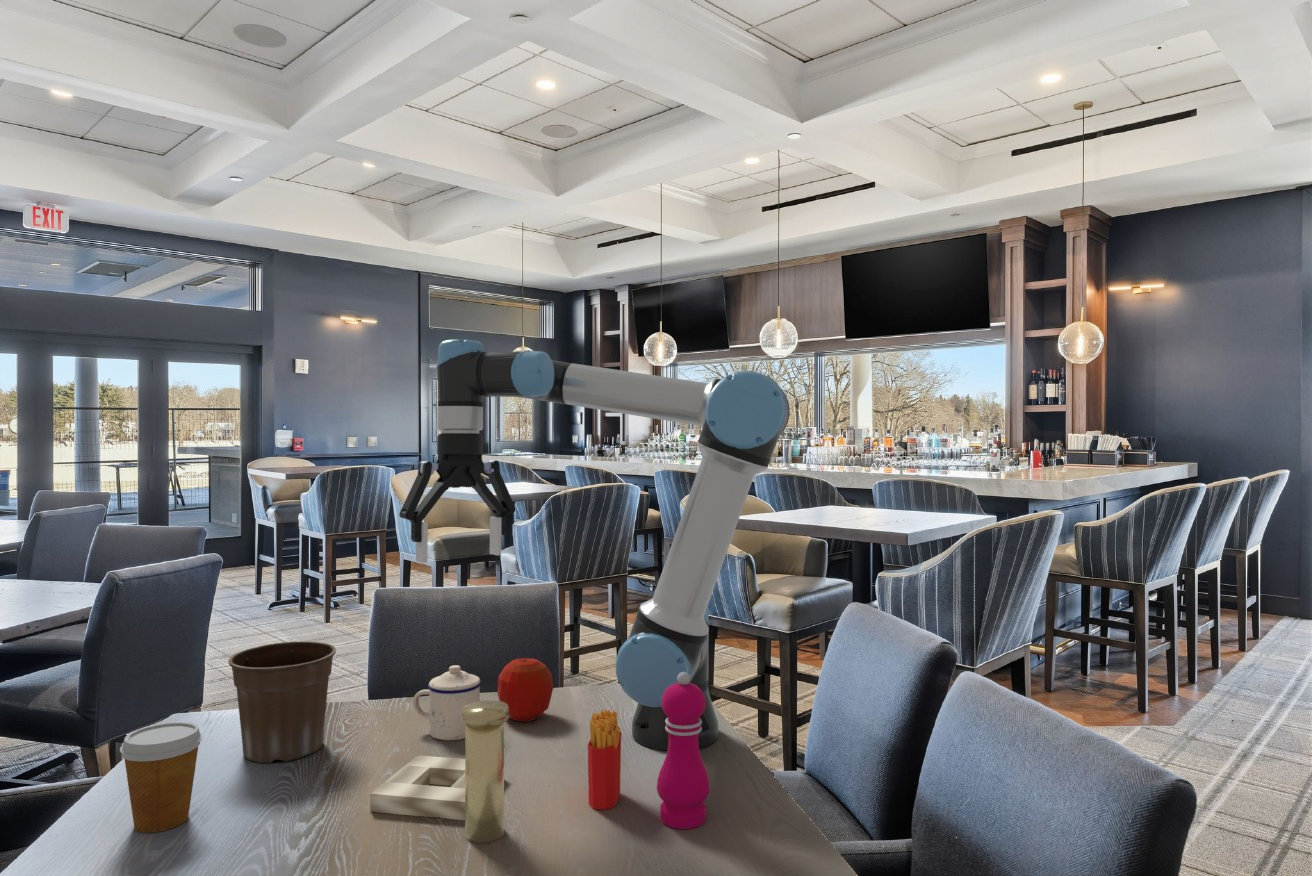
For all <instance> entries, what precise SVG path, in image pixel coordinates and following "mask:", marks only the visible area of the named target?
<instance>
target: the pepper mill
mask: <svg viewBox="0 0 1312 876" xmlns="http://www.w3.org/2000/svg"><path fill="white" fill-rule="evenodd" d="M677 680H678V683H675V684H673V685H671V686H669V687H668V688H667V689H666V690H665V692H664V694H663V697H662V709H663V711H664V713H665V714H666V715H667V718H666V720H665V723H666V726H665V730H666V731H667V732H668V736H669V743H668V750H666V751H667V752H666V756H665V758H664V761H663V763H662V766H661V768H660V770H659V773H658V777H657V782H656V792H657V794H658V796H659V798H660V799H661V800H662V802H661V804H660V807H659V808H660V810H659V811H660V815H659V816H660V818H659V819H660V821H661V822H662V823H663V824H664V825H665V826H667V827H670V828H674V829H679V830H680V829H681V830H690V829H695V828H698V827H700V826H702V825H703V824H704V823H705V822H706V819H707V805H706V804H705V801H706V799H707V798H708V796H709V795H710V791H711V788H710V787H711V785H710V779H709V774H708V771H707V768H706V766H705V764H704V761H703V758H702V756H701V751H700V748H699V744H698V736H699V732H701V730H702V727H701V724H702V720H701V719H700V718H699V717H700V716H701V715H702V714H703V712H704V710H705V705H706V702H705V696H704V694H703V692H702V690H701V689H700V688H699V687H698V686H696V685H694V684H691V683H689V682H690V676H689V674H688V673H686V672H681V673H680V674H679V675H678V677H677Z"/></svg>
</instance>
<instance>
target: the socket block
mask: <svg viewBox="0 0 1312 876" xmlns="http://www.w3.org/2000/svg"><path fill="white" fill-rule="evenodd" d="M369 796H370V799H369V801H370V803H369V806H370V810H369V811H370V812H371V813H379V814H383V813H384V814H391V815H392V814H393V815H401V816H402V815H403V816H413V817H414V816H415V817H423V816H424V817H427V818H434V817H440V818H439V819H445V818H446V819H448V820H455V821H456V820H458V821H465V758H454V757H444V756H429V755H416V756H415V757H414V758H412V759H411V760H410V761H409V762H408V763H406V764H405V765H404V766H402V767H401V768H400V769H399V770H398V771H396V772H395V773H394V774H392V776H390V777H389V778H388V779H387V780H386V781H384V782H383V783H382V784H380V785H379V786H377V788H375V789H374V790H373V791H372V792H370V795H369ZM424 817H423V818H424Z"/></svg>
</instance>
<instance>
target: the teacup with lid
mask: <svg viewBox="0 0 1312 876" xmlns="http://www.w3.org/2000/svg"><path fill="white" fill-rule="evenodd" d="M481 686H482V681H481V679H480V677H479V676H477V675H475V674H472V673H468V672H466V671H464V670H462V669H461V666H460V665H457V664H456V665H455V664H454V665H450V666H449V668H448V671H446V672H444V673H442V674H441V675H439V676H436V677H433V678H431V680H430V681H429V683H428V685H427V689H421V690H420V691H418V692H416V694H415V695H414V697H413V700H412V703H413V709H414V711H415V713H416V714H417V715H418V716H419V717H421V718H422V719H423V718H424V719H426V720H429V721H428V723H429V724H428V726H429V729H428V730H429V731H428V734H429V735H430V736H431V738H434V739H436V740H440V741H458V740H465V724H463V723H462V721H461V716H462V707H463V706H465V705H466V704H469V703H472V702H477V701H481V698H480V697H481V696H480V695H481V693H480V692H481V691H480V690H481V689H480V687H481ZM423 695H425V696H428V695H429V704H428V705H429V709H428V710H429V712H425V711H424V710H422V708H421V707H420V703H419V698H420V696H423Z"/></svg>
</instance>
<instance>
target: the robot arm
mask: <svg viewBox="0 0 1312 876" xmlns="http://www.w3.org/2000/svg"><path fill="white" fill-rule="evenodd" d="M436 371H437V408H436V409H437V422H436V423H437V425H436V426H437V427H436V428H437V430H438V431H440V433H438V435H437V436H436V438H437V439H436V440H437V443H436V447H437V448H436V453H437V460H436V462H431V461H426V460H422V461H420V462H418V468H417V469H418V471H417V475H416V477H415V479H414V481H413V484H412V486H411V488H410V490H409V492H408V494H407V496H406V498H405V500H404V503H403V505H402V507H401V509H400V511H399V513H398V516H399V518H401V519H405V520H408V521H409V522H410V540H411V542H413V543H415V562H418V563H421V564H427V563H428V539H429V538H428V531H429V530H428V527H429V526H428V521H427V522H426V521H424V520H425V518H426V517H427V516H428V514H429V513H430V512H431V510H432V509H433V508H434V507H435V505H436V504H437V503H438V501H439V500H440V498H441V497H442V496H443V495H444V493H445V492H446V491H448V490H449V489H451V488H453V489H458V488H472V489H473V490H474V491H475V492H476V494H478V496H479V497H480V498H481V500H482V501H483V502H484V504H485V505H486V506H487V507H488V509H489V510H490V511H491V512H492V514H493V515H494V516H489V554H490V555H492V556H493V555H494V556H502V536H505V533H506V518H507V517H509V516H510V514H511V513H512V514H513V513H515V512H516V506H515V504H514V503H515V502H514V501H513V499H512V497H511V495H510V492H509V490H508V487H507V486H506V483H505V481H504V478H503V476H502V474H501V466H500V462H499V460H493V459H491V460H489V459H488V460H487V461H483V454H484V436H483V435H482V433H480V431H483V429H484V397H486V398H491V397H493V398H495V397H497V398H498V397H499V398H500V397H501V398H504V397H505V398H508V397H511V398H521V399H529V400H535V401H536V400H537V401H538V402H539V401H540V402H546V403H554V404H561V405H569V406H575V407H581V408H587V409H593V410H599V411H606V412H611V413H619V414H623V415H630V416H636V417H637V416H638V417H643V418H649V419H655V420H661V421H667V422H675V423H678V424H679V423H681V424H686V425H691V426H698V427H702V429H701V431H700V434H699V438H698V440H697V443H696V445H697V447H698V449H699V451H700V453H701V457H702V458H701V461H700V464H699V467H698V468H697V469H698V470H697V471H696V474H695V477H694V480H693V483H692V486H691V489H690V492H689V495H688V498H687V500H686V504H685V506H684V509H683V511H682V514H681V518H680V520H679V523H678V526H677V528H676V531H675V534H674V537H673V539H672V543H671V545H670V549H669V551H668V554H667V556H666V559H665V562H664V565H663V568H662V572H661V573H660V576H659V579H658V583H657V586H656V588H655V591H654V594H653V596H652V598H651V599H648V600H647V601H644V602H642V603H640V604H639V605H640V606H639V608H638V611H637V613H636V616H635V618H634V622H633V625H632V628H630V629H631V630H630V633H629V636H628V638H627V639H626V640H625V641H624V642H623V643H622V645H621V646H620V648H619V650H618V652H617V656H616V660H615V674H616V678H617V681H618V683H619V685H620V687H621V689H622V691H624V693H625V694H626V695H627V696H628V697H629V698H630V699H631V700H633V701H634V702H636V703H637V705H636V709H635V711H634V715H633V719H632V722H631V723H632V724H631V735H632V738H633V740H634V741H635V742H637V743H639V744H640V745H642V746H645V747H648V748H652V749H657V750H663V751H668V743H669V736H668V732H667V731H666V730H665V726H666V723H665V720H666V718H667V715H666V714H665V713H664V711H663V709H662V697H663V694H664V692H665V690H666V689H667V688H668V687H669V686H671V685H673V684H675V683H678V680H677V677H678V675H679V674H680V673H681V672H686V673H688V674H689V676H690V682H689V683H691V684H694V685H696V686H698V687H699V688H700V689H701V690H702V692H703V694H704V696H705V702H706V705H705V710H704V712H703V714H702V715H701V716H700V717H699V718H700V719H701V720H702V724H701V727H702V730H701V732H699V736H698V744H699V749H700V748H704V747H707V746H709V745H710V746H711V744H713V743H715V742H716V741H717V740H718V739H719V722H718V718H717V714H716V712H715V708H714V705H713V703H712V698H711V695H710V692H709V644H710V643H709V639H710V638H709V632H710V631H709V630H710V628H709V626H710V625H711V624H710V623H711V622H710V619H709V618H710V617H709V610H708V606H709V603H710V600H711V599H712V594H713V593H714V589H715V586H716V584H717V581H718V578H719V575H720V573H721V569H722V567H723V564H724V561H725V559H726V556H727V552H728V550H729V548H730V544H731V541H732V539H733V536H734V533H735V530H736V527H737V525H738V522H739V519H740V517H741V514H742V511H743V509H744V506H745V503H746V501H747V500H746V499H747V497H748V494H749V491H750V488H751V486H752V483H753V480H754V479H755V478H754V477H755V476H757V475H758V474H760V473H762V472H764V471H766V470H767V469H768V468H769V466H770V465H769V464H770V463H771V460H772V457H773V454H774V451H775V449H776V446H777V443H778V440H779V437H780V436H781V435H782V434H783V432H784V431H785V430H786V428H787V426H788V423H789V419H790V415H791V414H790V413H791V410H790V404H789V403H790V402H789V400H788V397H787V395H786V394H785V393H786V392H784V390H783V389H782V387H781V386H779V384H778V383H777V381H776V380H774V379H773V378H772V377H771V376H769V375H767V374H764V373H762V372H757V371H753V370H741V371H736V372H733V373H730V374H728V375H726V376H725V377H723V378H714V379H712V380H711V381H710V382H703V381H698V380H697V381H695V380H688V379H682V378H674V377H668V376H661V375H653V374H648V373H647V374H646V373H641V372H634V371H627V370H622V369H621V370H620V369H614V368H607V367H600V366H592V365H586V364H578V363H571V362H566V361H560V360H559V361H558V360H552V358H551V357H550V355H549V354H548V353H547V352H545V351H540V350H539V351H537V350H529V349H526V350H519V351H498V352H495V351H493V352H490V351H489V352H488V351H485V350H484V345H483V343H482V342H481V341H479V340H473V339H447V340H443V341H441V342H440V344H439V345H438V352H437V364H436ZM483 471H484V473H486V475H487V476H488V480H489V482H490V484H491V486H492V488H493V491H494V493H495V495H494V494H493V492H492V491H491V490H490V488H489V487H488V485H487V483H486V482H485V480H484V479H483V477H482V476H481V475H482V473H483ZM435 472H436V473H437V474H438V478H437V479H436V480H435V482H434V483H433V486H432V487H431V488H430V490H429V491H428V493H426V495H425V497H424V498H423V499H422V500H421V498H422V496H423V495H424V493H425V491H426V488H427V486H428V484H429V481H430V480H431V477H432V475H433V474H435Z"/></svg>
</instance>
